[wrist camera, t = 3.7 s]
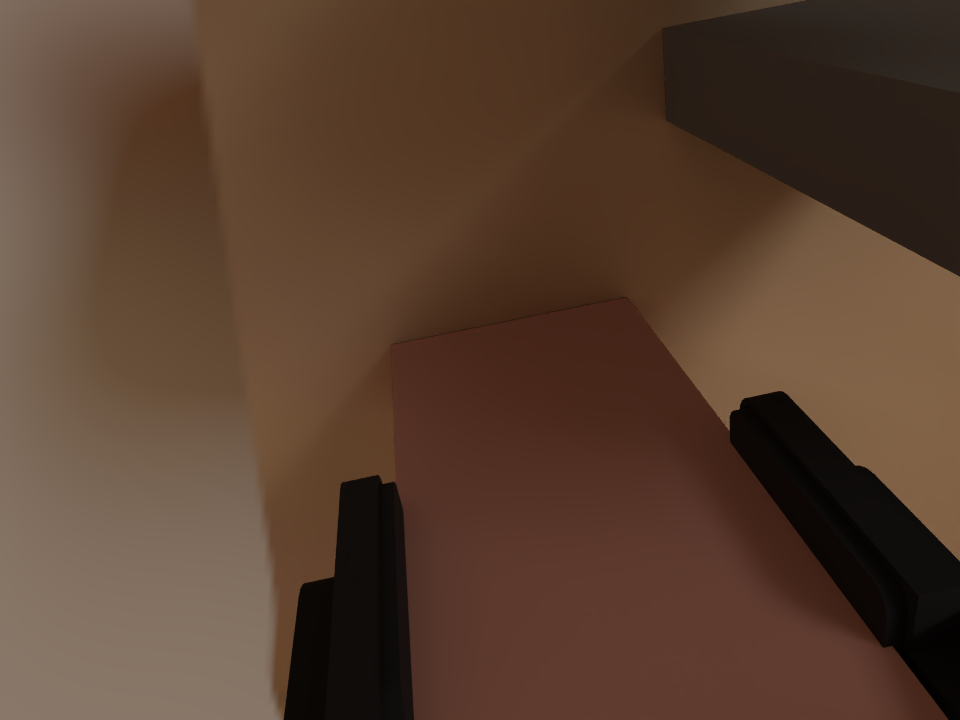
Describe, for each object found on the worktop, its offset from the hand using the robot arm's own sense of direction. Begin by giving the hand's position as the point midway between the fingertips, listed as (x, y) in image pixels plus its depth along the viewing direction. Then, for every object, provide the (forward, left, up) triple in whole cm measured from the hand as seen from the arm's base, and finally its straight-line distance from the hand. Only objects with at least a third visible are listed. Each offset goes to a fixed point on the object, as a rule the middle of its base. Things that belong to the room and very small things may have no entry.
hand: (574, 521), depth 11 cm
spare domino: (0, 0, -6) cm, 6 cm away
